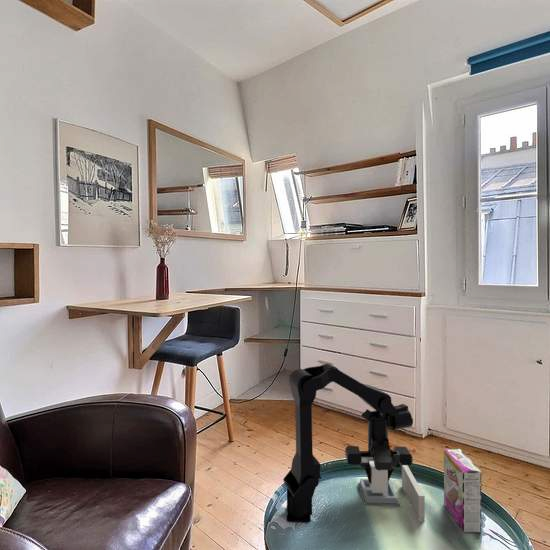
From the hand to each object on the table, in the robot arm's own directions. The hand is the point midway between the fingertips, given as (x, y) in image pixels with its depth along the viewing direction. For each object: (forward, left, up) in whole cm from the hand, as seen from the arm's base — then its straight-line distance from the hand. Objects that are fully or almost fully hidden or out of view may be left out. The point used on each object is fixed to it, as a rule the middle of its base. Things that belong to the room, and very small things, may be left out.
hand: (378, 483), depth 109 cm
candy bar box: (+20, -9, -4) cm, 22 cm away
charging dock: (0, 0, -4) cm, 4 cm away
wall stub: (+9, -3, -4) cm, 10 cm away
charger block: (0, 0, -2) cm, 2 cm away
